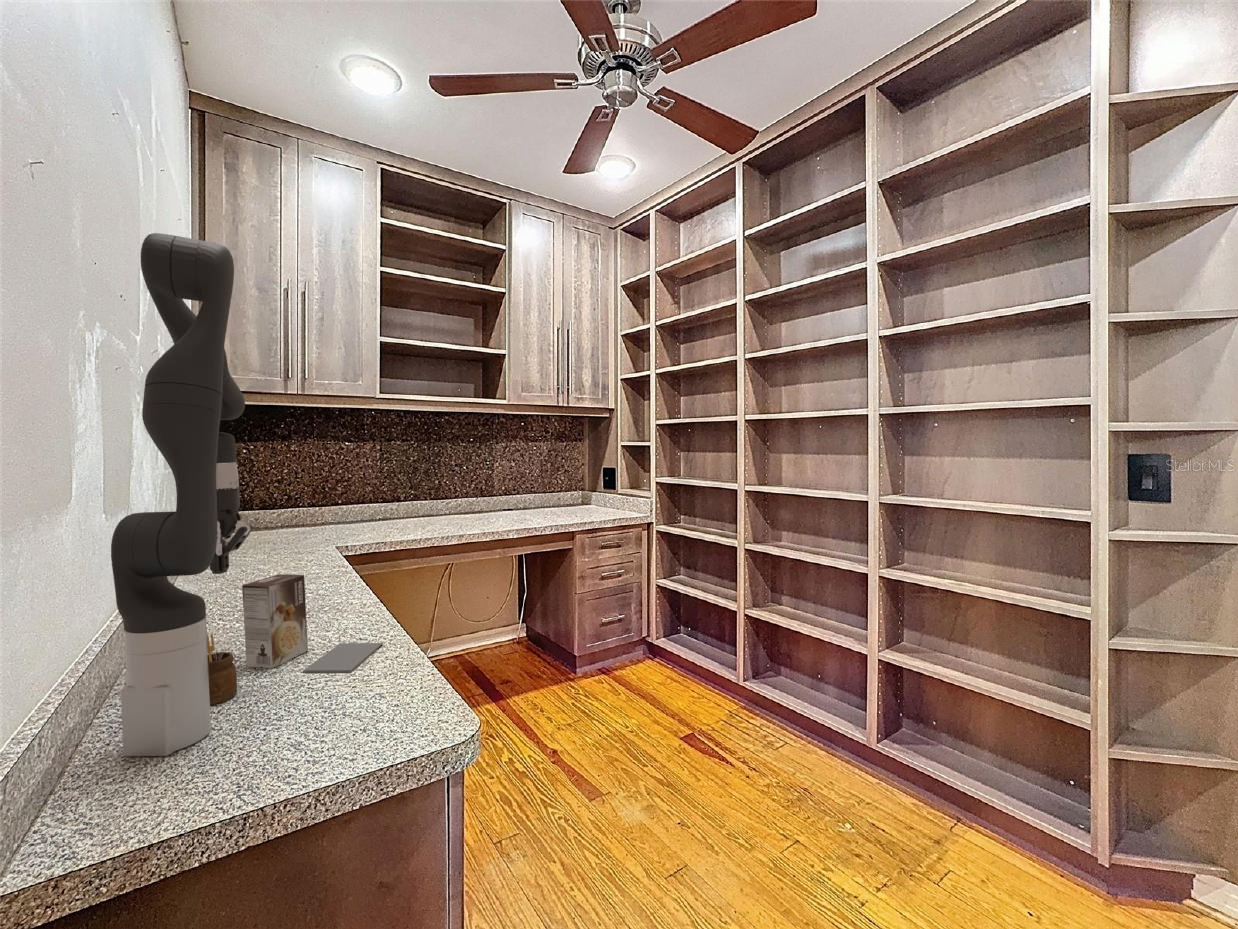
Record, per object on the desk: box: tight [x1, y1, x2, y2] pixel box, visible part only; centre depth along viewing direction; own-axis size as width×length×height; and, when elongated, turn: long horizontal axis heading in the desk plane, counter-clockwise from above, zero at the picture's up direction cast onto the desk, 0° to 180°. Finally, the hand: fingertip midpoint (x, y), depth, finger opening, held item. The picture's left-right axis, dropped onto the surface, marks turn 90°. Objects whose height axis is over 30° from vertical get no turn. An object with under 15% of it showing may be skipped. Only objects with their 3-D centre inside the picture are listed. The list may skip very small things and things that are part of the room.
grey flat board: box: [302, 642, 384, 674], centre depth 111 cm, size 14×9×1 cm, turn 0°
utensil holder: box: [207, 629, 238, 706], centre depth 94 cm, size 6×6×12 cm
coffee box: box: [241, 573, 309, 669], centre depth 111 cm, size 9×6×16 cm
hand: (220, 573), depth 111 cm, fingers closed
